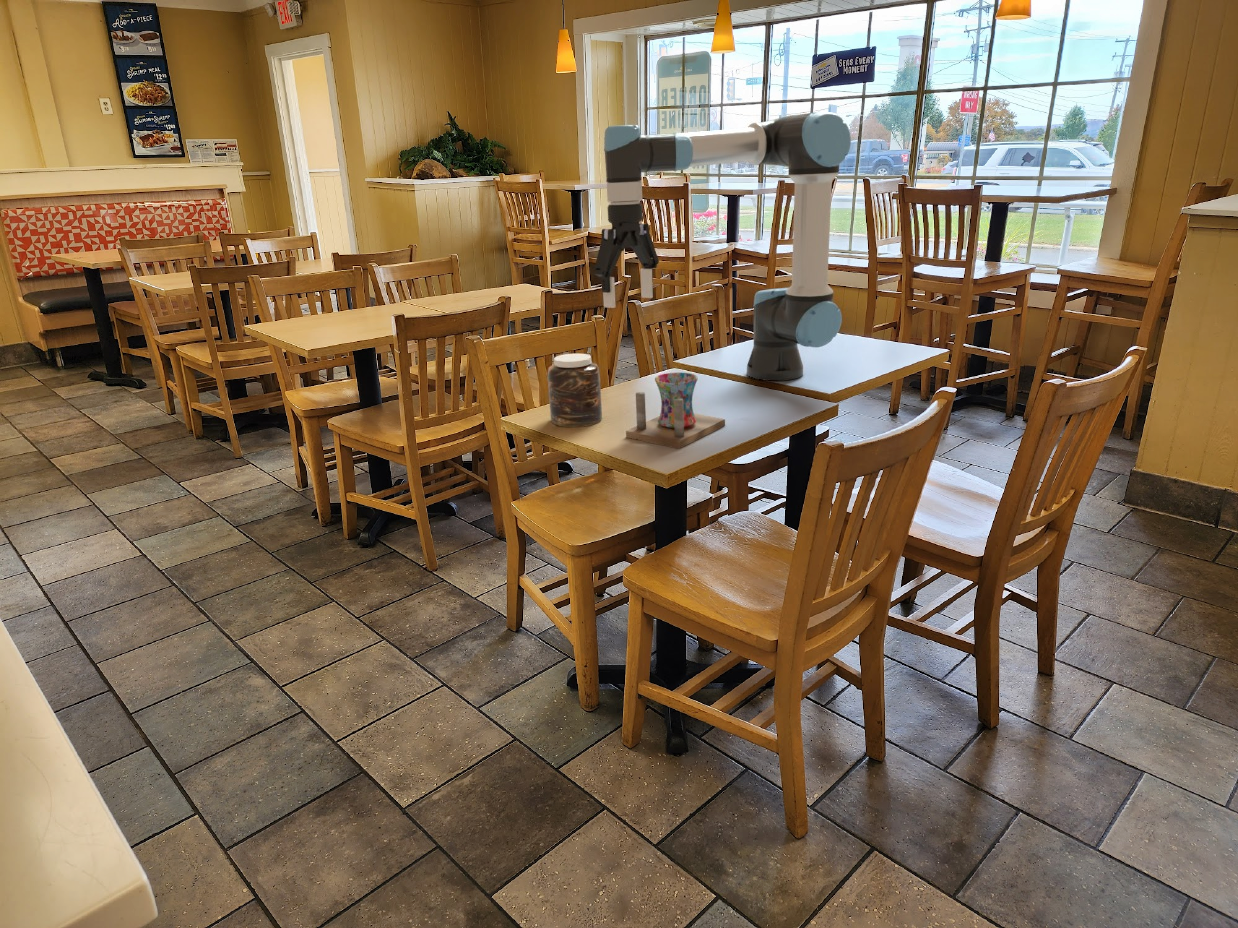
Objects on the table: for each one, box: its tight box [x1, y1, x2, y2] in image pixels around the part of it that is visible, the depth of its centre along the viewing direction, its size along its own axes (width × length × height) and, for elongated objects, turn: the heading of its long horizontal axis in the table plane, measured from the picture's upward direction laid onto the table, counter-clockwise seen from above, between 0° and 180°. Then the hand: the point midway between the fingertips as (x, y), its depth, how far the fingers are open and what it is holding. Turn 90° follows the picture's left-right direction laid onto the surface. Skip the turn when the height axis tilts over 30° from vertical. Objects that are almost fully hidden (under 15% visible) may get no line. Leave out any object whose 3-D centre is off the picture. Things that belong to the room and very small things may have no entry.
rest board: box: [625, 391, 726, 449], centre depth 177 cm, size 18×14×10 cm
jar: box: [547, 353, 603, 428], centre depth 187 cm, size 12×12×15 cm
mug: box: [654, 372, 698, 428], centre depth 178 cm, size 12×9×11 cm
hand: (628, 302), depth 181 cm, fingers open, 13 cm apart
